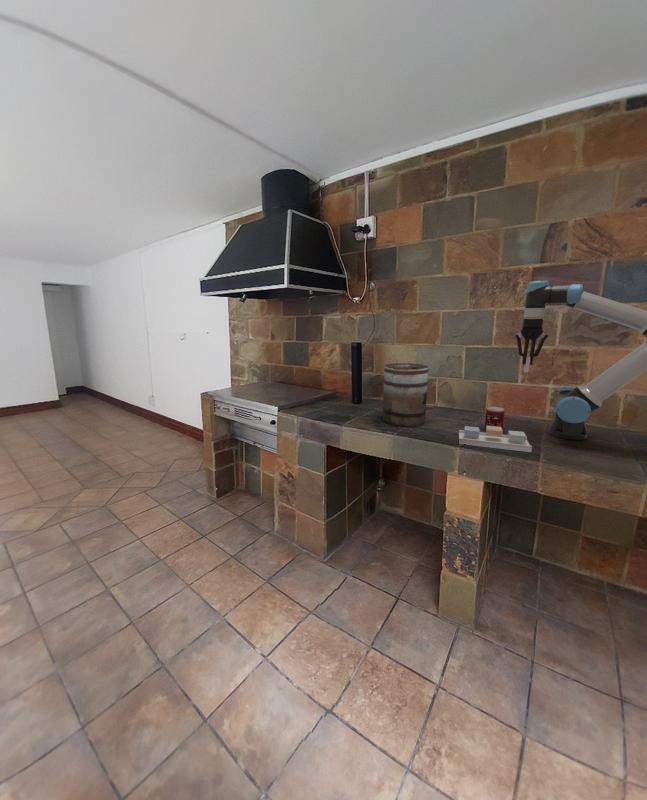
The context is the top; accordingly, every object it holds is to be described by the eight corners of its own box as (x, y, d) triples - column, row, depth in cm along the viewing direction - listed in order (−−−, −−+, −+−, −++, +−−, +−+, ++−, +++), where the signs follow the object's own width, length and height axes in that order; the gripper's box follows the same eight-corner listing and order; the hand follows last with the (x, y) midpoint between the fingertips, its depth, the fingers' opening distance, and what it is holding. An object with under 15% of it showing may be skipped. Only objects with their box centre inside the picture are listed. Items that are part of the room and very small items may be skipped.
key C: (478, 433, 154) (478, 427, 153) (478, 438, 149) (479, 431, 148) (463, 432, 156) (464, 426, 156) (464, 436, 151) (464, 430, 150)
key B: (500, 433, 151) (501, 427, 150) (502, 438, 145) (502, 431, 145) (485, 432, 153) (486, 425, 152) (486, 436, 147) (487, 429, 147)
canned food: (480, 428, 170) (483, 407, 167) (493, 426, 172) (495, 405, 170) (493, 433, 163) (495, 411, 160) (505, 431, 165) (508, 409, 163)
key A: (522, 438, 148) (523, 431, 147) (525, 443, 143) (526, 436, 142) (507, 437, 150) (508, 430, 149) (509, 441, 145) (510, 434, 144)
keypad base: (525, 442, 151) (526, 437, 150) (531, 452, 140) (532, 446, 139) (458, 435, 160) (459, 430, 160) (459, 443, 150) (459, 438, 149)
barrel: (432, 421, 182) (437, 366, 175) (409, 430, 167) (412, 370, 160) (398, 412, 198) (400, 362, 191) (373, 420, 184) (375, 366, 176)
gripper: (548, 318, 148) (540, 371, 154) (515, 318, 153) (508, 369, 159) (553, 318, 142) (544, 373, 147) (518, 318, 146) (511, 372, 152)
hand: (526, 371), depth 153 cm, fingers closed
